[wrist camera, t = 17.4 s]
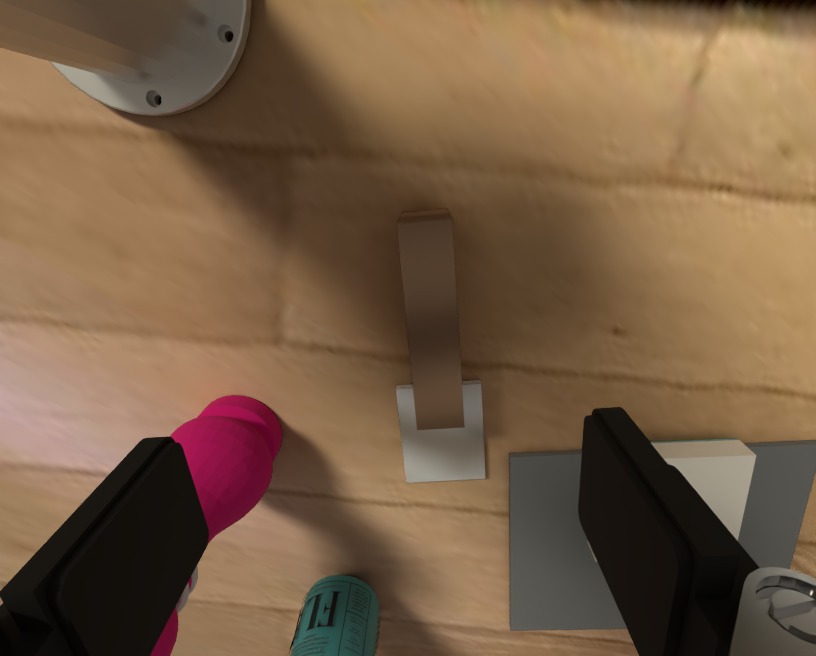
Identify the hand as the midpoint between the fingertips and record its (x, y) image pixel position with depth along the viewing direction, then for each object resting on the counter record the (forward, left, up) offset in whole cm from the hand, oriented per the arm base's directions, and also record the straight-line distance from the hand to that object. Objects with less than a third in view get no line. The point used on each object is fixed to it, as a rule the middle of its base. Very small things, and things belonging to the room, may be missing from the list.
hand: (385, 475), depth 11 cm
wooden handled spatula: (+7, +1, -20) cm, 22 cm away
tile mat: (+23, +17, -20) cm, 35 cm away
